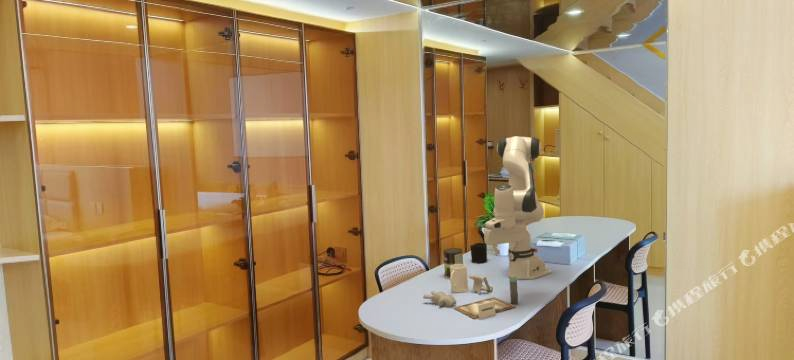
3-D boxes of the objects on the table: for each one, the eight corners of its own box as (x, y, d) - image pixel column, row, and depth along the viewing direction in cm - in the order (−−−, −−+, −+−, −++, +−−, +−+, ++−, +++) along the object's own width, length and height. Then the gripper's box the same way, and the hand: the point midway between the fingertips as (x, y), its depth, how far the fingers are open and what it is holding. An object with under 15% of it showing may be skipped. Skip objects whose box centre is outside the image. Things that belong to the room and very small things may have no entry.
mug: (457, 295, 258) (455, 271, 257) (443, 292, 264) (441, 268, 262) (472, 288, 266) (470, 264, 265) (458, 286, 272) (456, 262, 271)
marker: (515, 301, 244) (513, 276, 243) (520, 303, 241) (518, 278, 240) (509, 303, 242) (507, 277, 241) (513, 305, 239) (512, 279, 238)
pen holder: (489, 263, 310) (488, 246, 309) (472, 264, 310) (471, 247, 309) (486, 259, 319) (485, 242, 318) (470, 260, 319) (469, 243, 318)
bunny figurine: (447, 301, 239) (421, 292, 249) (446, 312, 240) (421, 302, 250) (460, 295, 246) (434, 286, 256) (459, 305, 247) (434, 296, 257)
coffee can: (446, 279, 285) (444, 253, 283) (443, 274, 295) (442, 248, 293) (465, 277, 285) (464, 251, 283) (462, 272, 295) (461, 247, 294)
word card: (494, 314, 230) (493, 300, 229) (495, 314, 229) (494, 301, 229) (478, 318, 227) (478, 304, 226) (479, 319, 226) (478, 305, 225)
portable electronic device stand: (493, 291, 261) (492, 274, 260) (482, 295, 256) (481, 278, 255) (478, 287, 267) (477, 271, 266) (468, 292, 262) (467, 275, 261)
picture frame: (494, 298, 250) (494, 295, 250) (516, 307, 236) (516, 304, 236) (453, 308, 241) (453, 305, 241) (474, 319, 226) (473, 316, 226)
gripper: (521, 218, 247) (522, 248, 248) (481, 223, 240) (483, 254, 241) (529, 220, 241) (530, 250, 242) (488, 225, 234) (490, 257, 235)
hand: (506, 252), depth 241 cm, fingers open, 8 cm apart
